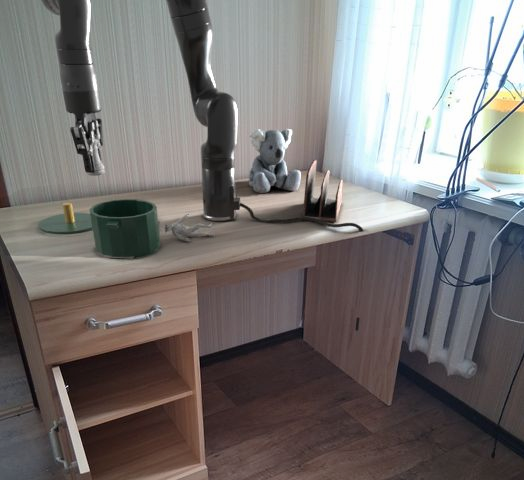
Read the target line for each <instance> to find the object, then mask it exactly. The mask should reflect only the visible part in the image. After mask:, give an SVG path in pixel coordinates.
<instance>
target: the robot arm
mask: <svg viewBox="0 0 524 480" xmlns="http://www.w3.org/2000/svg"><path fill="white" fill-rule="evenodd" d="M165 1H166V5H167V9H168V13H169V17H170V22H171V24H172V28H173V31H174V35H175V37H176V42H177V45H178V47H179V52H180V55H181V60H182V63H183V66H184V70H185V73H186V76H187V82H188V87H189V93H190V98H191V104H192V108H193V113H194V116H195V118H196V120H197V121H198V123H200V125H201V126H203V127H205V128H207V134H206V136H207V137H206V141H205V142H203V143H202V144H201V146H200V155H201V156H200V163H201V164H200V165H201V182H202V203H203V205H202V206H203V209H202V211H203V213H202V214H203V216H202V217H203V218H204V219H205V220H208V221H212V222H226V221H234V220H235V219H236V215H237V211H240V209H241V208H243V209H245V210H246V211H247V212H248V213H249V214H250V215H249V216H250V217H251V219H253V221H255V222H259V223H267V224H275V223H291V222H296V221H310V222H314V223H318V224H320V225H323V226H326V227H330V228H344V227H354V228H356V229H357V230H359V231H360V232H364V228H363V227H362V226H361V225H360V224H357V223H355V222H342V223H332V222H325V221H321V220H318V219H315V218H310V217H303V216H297V217H296V216H295V217H290V218H274V219H271V218H270V219H261V218H259V217H257V216H256V215H255V214H254V212H253V210H252V208H250V207H249V206H248V205H246V204H244V203H242V202H241V197H236V194H237V191H236V189H237V188H236V187H237V186H236V180H235V175H236V173H235V150H236V148H237V143H238V126H239V125H238V124H239V112H238V105H237V102H236V100H235V98H234V97H233V96H232V94H229V93H228V92H224V91H219V90H218V87H217V84H216V81H215V77H214V72H213V67H212V53H213V44H214V43H213V42H214V41H213V40H214V31H213V23H212V20H211V16H210V11H209V7H208V3H207V0H165ZM41 2H42V5H43V6H44V7H45V9H46V10H47V11H48V12H50V13H51V14H53V15H56V16H59V27H60V28H59V30H58V31H57V32H56V33H55V35H54V45H55V50H56V56H57V61H58V62H57V63H58V67H59V79H60V85H61V91H62V96H63V101H64V105H65V111H66V112H67V113H68V114H73V115H74V126H70V134H71V137H72V140H73V144H74V147H75V150H76V154H77V155H80V156H82V160H83V161H82V162H83V167H84V171H85V173H86V174H87V173H94V172H95V171H96V170H95V163H94V157H93V148H92V145H93V144H94V137H96V139H97V140H98V143H97V147H98V154H99V158H100V160H101V162H102V163H103V161H102V155H101V151H102V147H103V146H104V138H103V137H104V136H103V121H102V118H99V117H98V118H97V116H96V114H97V113H100V112H102V110H103V108H102V101H101V100H102V99H101V95H100V94H101V93H100V88H99V81H98V76H97V72H96V67H95V63H94V56H93V50H92V45H91V35H92V34H91V33H92V14H93V13H92V12H93V11H92V0H41ZM86 139H90V140H86ZM360 320H361V318H360V317H356V320H355V328H354V329H355V331H356V332H357V331H359V326H360Z"/></svg>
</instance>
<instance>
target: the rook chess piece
mask: <svg viewBox="0 0 524 480" xmlns="http://www.w3.org/2000/svg"><path fill="white" fill-rule="evenodd" d="M86 140H90V139H86ZM97 143H98V140H97V139H96V137H94V144H93V145H92V148H93V157H94V163H95V170H96V171H95V172H94V173H86V175H88V176H91V177H92V176H93V177H94V176H95V177H97V176H102V175H105V174H106V170H105V165H104V164H103V161H102V162H101V160H102V159H101V160H100V158H99V154H98V147H97Z"/></svg>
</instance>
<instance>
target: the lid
mask: <svg viewBox="0 0 524 480" xmlns="http://www.w3.org/2000/svg"><path fill="white" fill-rule="evenodd" d="M61 206H62V209H63V213H61V214H56V215H51V216H48V217H46V218H44V219H42V220H41V221H39V223H38V229H39V230H40V231H42V232H44V233H48V234H55V235H70V234H71V235H72V234H79V233H83V232H84V233H85V232H89V231H93V229H92V223H91V217H90V213H86V212H74V208H73V204H72V202H63V203H62V205H61Z"/></svg>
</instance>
